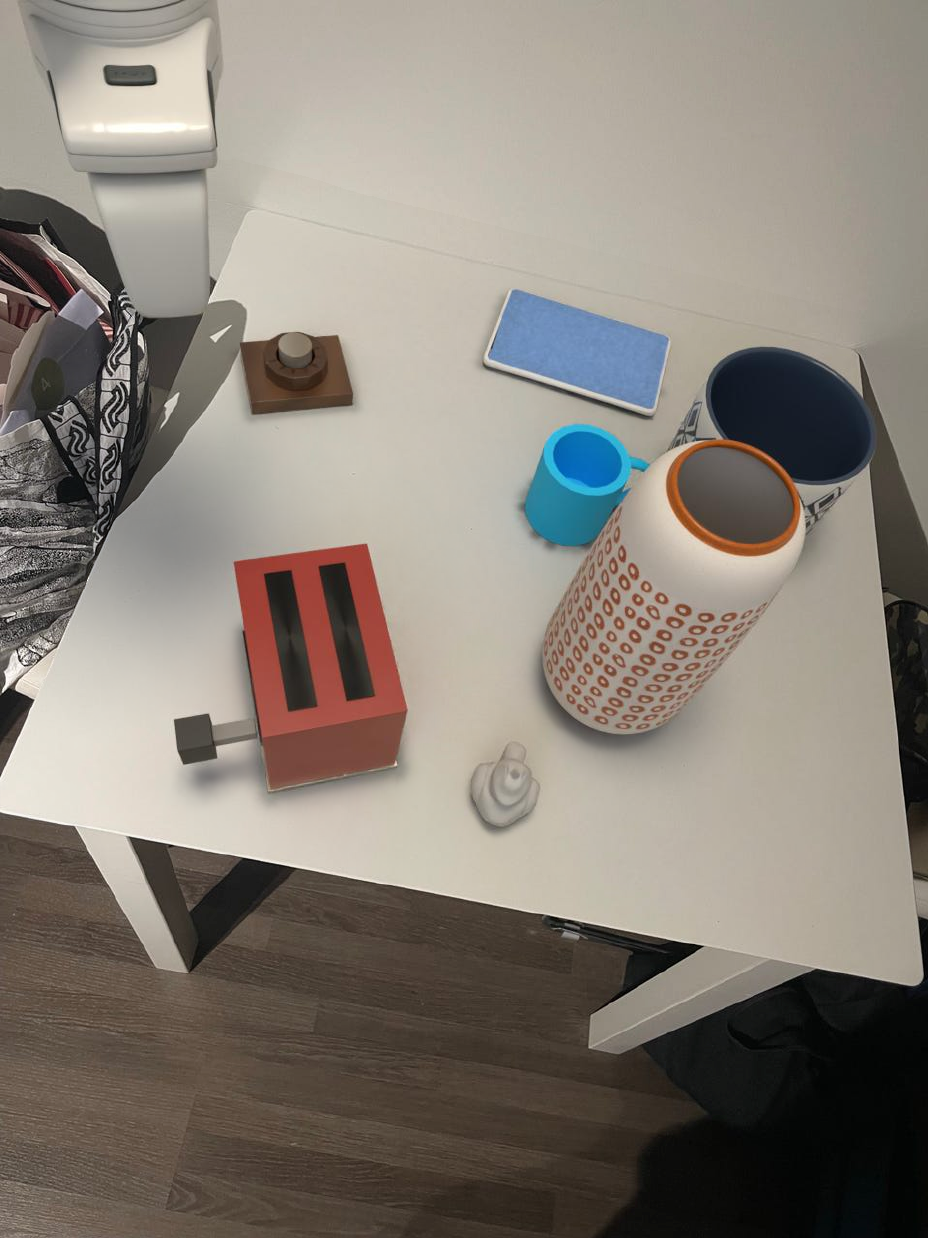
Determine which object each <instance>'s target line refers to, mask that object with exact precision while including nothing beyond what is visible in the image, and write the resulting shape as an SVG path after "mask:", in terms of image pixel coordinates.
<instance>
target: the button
mask: <svg viewBox="0 0 928 1238" xmlns="http://www.w3.org/2000/svg"><path fill="white" fill-rule="evenodd" d="M278 345H279V359H280V361H281V363H282V364H283V365H284V366H286V367H288V368H291V369H303V368H305V367H307V366H308V365H309V364H310V363H311V361H312V343H311V341H310V339H309V338H308V337H307V336H305V335H303V334H301V333H288V334H286V335H284V336H282V337H281V339H280V340H279V344H278Z"/></svg>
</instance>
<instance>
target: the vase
mask: <svg viewBox="0 0 928 1238" xmlns="http://www.w3.org/2000/svg"><path fill="white" fill-rule="evenodd" d="M631 487H632V488H631ZM631 487H630V488H631V489H630V491H629V492H628V493H627V495H626V496H625V497H624V499H623V500H622V502H621V503H620V504H619V505H618V506H616V508H615V510H614V511H613V512H612V513H611V515H610V516H609V518H608V520H607V522H606V524H605V525H604V527H603V529H602V530H601V532H600V533H599V535H598V536H597V537H596V538H595V541H594V542H593V543H592V545H591V547H590V549H589V550H588V551H587V553H586V555H585V557H584V558H583V560H582V562H581V564H580V566H579V567H578V568H577V570H576V573H575V574H574V576H573V578H572V579H571V581H570V583H569V584H568V586H567V588H566V590H565V591H564V594H563V595H562V596H561V599H560V601H559V603H558V604H557V606H556V607H555V609H554V611H553V613H552V615H551V617H550V619H549V622H548V624H547V627H546V629H545V633H544V637H543V642H542V653H541V654H542V655H541V656H542V657H541V658H542V667H543V672H544V676H545V678H546V682H547V684H548V687H549V689H550V691H551V693H552V694H553V696H554V698H555V699H556V701H557V702H558V704H559V705H560V706H561V707H562V708H563V709H564V710H565V711H566V712H567V713H568V714H569V715H570V716H571V717H573V718H574V719H576V720H577V721H578V722H580V723H582V724H583V725H585V726H587V727H590V728H591V729H593V730H596V731H600V732H603V733H607V734H614V735H634V734H641V733H645V732H648V731H651V730H653V729H656V728H659V727H660V726H662V725H665V724H666V723H668V722H669V721H670V720H673V718H675V717H676V716H677V715H679V713H681V712H682V711H683V710H684V709H685V707H687V706H688V704H689V703H690V702H691V701H692V700H693V699H694V698H695V697H696V695H698V693H699V692H700V691H701V690H702V689H703V688H704V686H706V684H707V683H708V682H709V681H710V680H711V679H712V677H713V676H714V675H715V674H716V673H717V671H718V670H719V669H720V668H721V667H722V666H723V665H724V664H725V662H726V661H727V660H728V659H729V658H730V656H731V655H732V654H733V653H734V652H735V651H736V649H737V648H738V647H739V645H740V644H741V643H742V642H743V641H744V639H745V638H746V636H747V635H748V634H749V633H750V631H751V630H752V629H753V627H755V625H756V624H757V623H758V622H759V620H760V619H761V618H762V616H763V615H764V613H765V612H766V611H767V609H768V608H769V606H770V605H771V604H772V602H773V601H774V599H775V598H776V596H777V595H778V593H779V592H780V591H781V589H782V587H783V586H784V584H785V583H786V582H787V580H788V579H789V578H790V575H791V574H792V572H793V570H794V569H795V567H796V565H797V563H798V561H799V559H800V556H801V553H802V551H803V548H804V543H805V539H806V536H805V532H806V524H805V514H804V509H803V506H802V503H801V500H800V498H799V495H798V492H797V489H796V487H795V485H794V483H793V481H792V479H791V478H790V476H789V475H788V474H787V472H786V471H785V470H784V469H783V468H782V467H781V466H780V465H779V464H778V463H777V462H776V461H775V460H774V459H773V458H771V457H770V456H768V455H767V454H766V453H764V452H762V451H760V450H759V449H757V448H755V447H752V446H750V445H747V444H744V443H741V442H737V441H732V440H705V441H695V442H690V443H687V444H684V445H681V446H678V447H676V448H674V449H672V450H670V451H668V452H667V453H666V452H665V453H664V454H662V455H660V456H659V457H658V458H657V459H655V460H654V461H653V462H652V463H651V464H650V466H649V467H648V468H647V469H646V470H645V471H644V472H642V473H641V475H640V476H639V477H638V478H637V480H635V482H634V484H633V485H632V486H631Z"/></svg>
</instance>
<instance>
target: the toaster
mask: <svg viewBox="0 0 928 1238" xmlns="http://www.w3.org/2000/svg"><path fill="white" fill-rule="evenodd" d="M373 566H374V565H373V561H372V558H371V554H370V550H369V545H368V543H360V544H352V545H345V546H344V545H343V546H338V547H337V546H336V547H331V548H322V549H315V550H308V551H301V552H294V553H287V554H286V553H285V554H278V555H271V556H263V557H256V558H249V559H242V560H241V559H240V560H234V561H233V569H234V575H235V580H236V587H237V593H238V599H239V605H240V612H241V619H242V624H243V629H242V630H241V633H242V639H243V643H244V644H243V645H244V651H245V658H246V661H247V662H246V664H247V671H248V676H249V682H250V689H251V695H252V701H253V708H254V714H255V721H256V728H257V732H258V733H257V734H258V739H259V744H260V745H259V746H260V751H261V757H262V764H263V770H264V776H265V783H266V788H267V793H268V794H273V793H279V792H284V791H288V790H293V789H294V790H295V789H299V788H303V787H308V786H314V785H319V784H324V783H328V782H333V781H338V780H343V779H349V778H353V777H359V776H364V775H368V774H373V773H379V772H383V771H388V770H393V769H397V768H398V766H399V764H398V760H397V756H398V752H399V749H400V744H401V739H402V735H403V732H404V728H405V723H406V718H407V715H408V706H407V702H406V699H405V694H404V690H403V686H402V681H401V677H400V674H399V673H400V672H399V670H398V665H397V661H396V657H395V652H394V649H393V645H392V640H391V636H390V632H389V628H388V624H387V620H386V616H385V612H384V608H383V607H384V606H383V603H382V599H381V595H380V591H379V586H378V581H377V578H376V574H375V570H374V567H373Z"/></svg>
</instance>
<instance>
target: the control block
mask: <svg viewBox="0 0 928 1238" xmlns="http://www.w3.org/2000/svg"><path fill="white" fill-rule="evenodd" d="M288 333H301V334H303V335H305V336H307V337H308V338H309V339H310V341H311V343H312V361H311V363H310V364H309V365H308V366H307V367H305V368H303V369H291V368H288V367H286V366H284V365H283V364H282V363H281V361H280V359H279V345H278V344H279V340H280V339H281V337H282V336H284V335H286V334H288ZM239 350H240V357H241V363H242V367H243V368H242V369H243V373H244V378H245V385H246V389H247V390H246V391H247V394H248V400H249V405H250V410H251V414H252V415H259V414H260V415H261V414H271V413H280V412H283V413H284V412H292V411H302V410H303V411H304V410H312V409H313V410H314V409H323V408H334V407H345V406H353V404H354V403H353V402H354V401H353V399H354V392H353V387H352V384H351V381H350V376H349V372H348V369H347V365H346V361H345V357H344V353H343V349H342V345H341V341H340V338H339V335H338V334H333V335H318V336H314V335H311V334H307V333H305V332H302V331H288V332H281V333H279V334H277V335H276V336H273V337H272V338H270V339H267V340H254V341H253V340H252V341H241V342H239Z"/></svg>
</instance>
